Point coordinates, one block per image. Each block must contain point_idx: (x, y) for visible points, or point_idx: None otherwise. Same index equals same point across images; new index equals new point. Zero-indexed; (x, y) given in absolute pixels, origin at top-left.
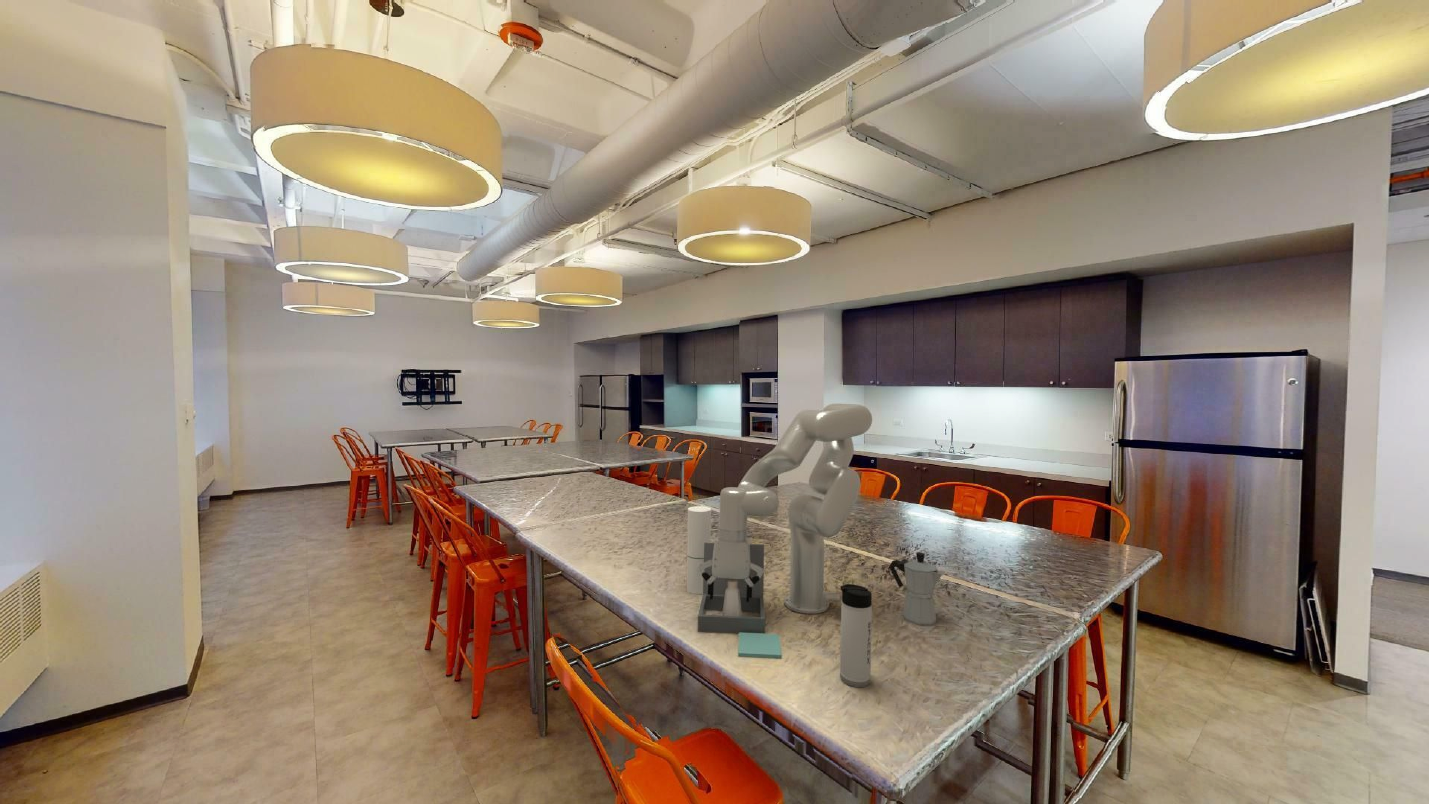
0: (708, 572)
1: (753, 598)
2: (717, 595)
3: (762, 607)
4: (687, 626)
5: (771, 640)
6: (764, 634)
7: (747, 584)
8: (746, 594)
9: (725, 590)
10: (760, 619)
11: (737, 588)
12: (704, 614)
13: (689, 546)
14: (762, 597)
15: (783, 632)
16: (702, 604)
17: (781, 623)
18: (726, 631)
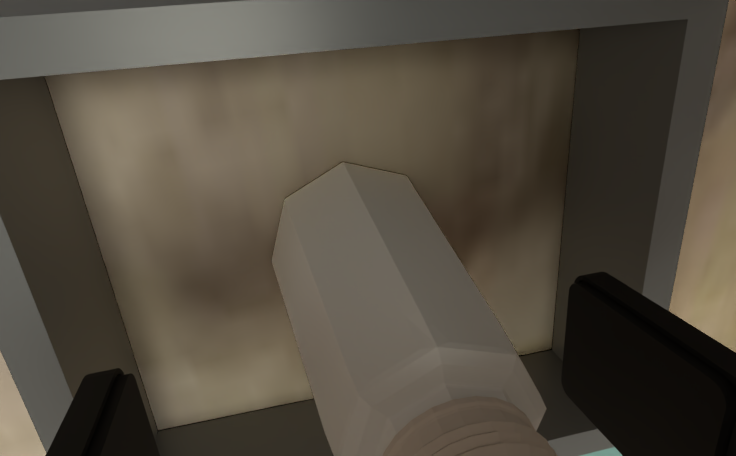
0: None
1: (610, 24)
2: (132, 47)
3: (664, 261)
4: (16, 417)
5: (605, 453)
6: None
7: (728, 426)
8: (597, 318)
9: (333, 453)
10: (609, 444)
11: (526, 408)
12: (87, 252)
13: None
14: (718, 2)
15: (680, 306)
16: (33, 362)
17: (700, 193)
18: None
